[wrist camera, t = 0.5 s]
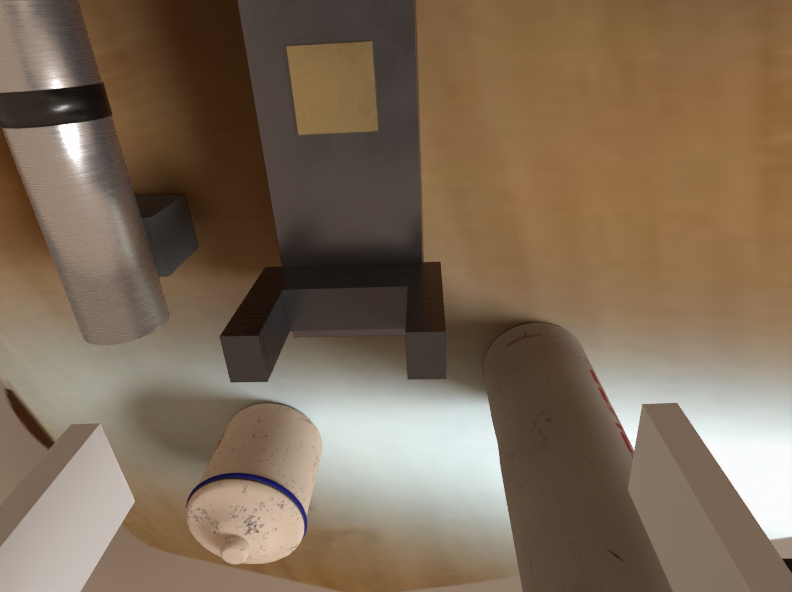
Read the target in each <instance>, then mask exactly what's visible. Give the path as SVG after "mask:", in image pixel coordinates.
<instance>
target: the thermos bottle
mask: <svg viewBox="0 0 792 592" xmlns="http://www.w3.org/2000/svg"><path fill="white" fill-rule="evenodd" d="M484 377H485V382H486V388H487V394H488V399H489V405H490V410H491V416H492V421H493V425H494V430H495V434H496V438H497V442H498V448H499V456H500V465H501V472H502V478H503V483H504V489H505V494H506V500H507V506H508V511H509V517H510V522H511V528H512V534H513V539H514V545H515V550H516V556H517V562H518V567H519V573H520V578H521V584H522V590H523V592H673V591H672V588H671V586H670V584H669V582H668V579H667V577H666V575H665V573H664V570H663V568H662V566H661V564H660V561H659V559H658V557H657V555H656V552H655V550H654V548H653V545H652V543H651V541H650V539H649V536H648V534H647V532H646V530H645V527H644V525H643V523H642V521H641V518H640V516H639V514H638V512H637V509H636V507H635V505H634V502H633V500H632V498H631V496H630V493H629V491H628V485H629V480H630V474H631V468H632V462H633V456H634V449H633V447H632V445H631V444H630V442H629V440H628V438H627V436H626V434H625V432H624V430H623V428H622V426H621V424H620V422H619V420H618V418H617V416H616V414H615V412H614V410H613V408H612V406H611V404H610V402H609V400H608V398H607V396H606V394H605V392H604V390H603V388H602V386H601V384H600V382H599V380H598V378H597V376H596V374H595V372H594V370H593V368H592V366H591V364H590V362H589V360H588V358H587V356H586V354H585V352H584V350H583V348H582V346H581V344H580V343H579V341H578V340H577V338H576V337H575V336H573V335H572V334H571V333H570V332H569V331H567V330H565V329H563V328H562V327H559V326H556V325H553V324H548V323H528V324H523V325H520V326H517V327H514V328H512V329H510V330H508V331H506V332H505V333H503V334H502V335H501V336H499V337H498V338H497V339H496V340H495V341H494V342H493V344H492V345H491V346H490V348H489V350H488V352H487V354H486V356H485V360H484Z"/></svg>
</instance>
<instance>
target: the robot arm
mask: <svg viewBox="0 0 792 592" xmlns="http://www.w3.org/2000/svg"><path fill="white" fill-rule="evenodd" d="M628 491H629V493H630V496H631V498H632V500H633V502H634V505H635V507H636V509H637V512H638V514H639V516H640V518H641V521H642V523H643V525H644V527H645V530H646V532H647V534H648V536H649V539H650V541H651V543H652V545H653V548H654V550H655V552H656V555H657V557H658V559H659V561H660V564H661V566H662V568H663V570H664V573H665V575H666V577H667V579H668V582H669V584H670V586H671V588H672V591H673V592H792V559H782V558H781V557H780V555H779V554H778V552H777V551H776V549H775V548H774V546H773V545H772V543H771V542H770V540H769V539H768V537H767V536H766V534H765V533H764V531H763V530H762V528H761V527H760V525H759V524H758V522H757V521H756V519H755V518H754V517H753V515H752V514H751V512H750V511H749V509H748V508H747V506H746V505H745V503H744V502H743V500H742V499H741V497H740V496H739V494H738V493H737V491H736V490H735V488H734V487H733V485H732V484H731V482H730V481H729V479H728V478H727V476H726V475H725V473H724V472H723V470H722V469H721V468H720V466H719V465H718V463H717V462H716V460H715V459H714V457H713V456H712V454H711V453H710V451H709V450H708V448H707V447H706V445H705V444H704V442H703V441H702V439H701V438H700V436H699V435H698V433H697V432H696V430H695V429H694V427H693V426H692V424H691V423H690V421H689V420H688V418H687V417H686V416H685V414H684V413H683V411H682V410H681V408H680V407H679V405H678V404H677V403H663V404H642V410H641V416H640V422H639V427H638V433H637V439H636V445H635V451H634V456H633V462H632V468H631V474H630V480H629V485H628ZM134 502H135V500H134V498H133V495H132V493H131V491H130V489H129V487H128V484H127V482H126V480H125V478H124V475H123V473H122V471H121V469H120V467H119V464H118V462H117V460H116V458H115V455H114V453H113V451H112V449H111V447H110V444H109V442H108V440H107V438H106V436H105V433H104V431H103V429H102V427H101V424H74V425H70V426H69V428H68V429H67V430H66V431H65V432H64V433H63V434H62V436H61V437H60V438H59V439H58V440H57V441H56V442H55V444H54V445H53V446H52V447H51V448H50V449H49V450H48V451H47V453H46V454H45V455H44V456H43V457H42V458H41V459H40V461H39V462H38V463H37V464H36V465H35V466H34V467H33V469H32V470H31V471H30V472H29V473H28V474H27V475H26V477H25V478H24V479H23V480H22V481H21V482H20V483H19V485H18V486H17V487H16V488H15V489H14V490H13V491H12V493H11V494H10V495H9V496H8V497H7V498H6V499H5V500H4V502H3V503H2V504H1V505H0V592H80V591H81V590H82V588H83V586H84V585H85V583H86V581H87V579H88V578H89V576H90V575H91V573H92V571H93V570H94V568H95V566H96V565H97V563H98V561H99V560H100V558H101V556H102V555H103V553H104V551H105V550H106V548H107V546H108V545H109V543H110V541H111V540H112V538H113V537H114V535H115V533H116V532H117V530H118V528H119V527H120V525H121V523H122V522H123V520H124V518H125V517H126V515H127V513H128V512H129V510H130V508H131V507H132V505H133V503H134Z"/></svg>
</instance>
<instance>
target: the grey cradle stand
mask: <svg viewBox="0 0 792 592" xmlns="http://www.w3.org/2000/svg"><path fill="white" fill-rule="evenodd" d="M237 1H238V7H239V12H240V18H241V24H242V30H243V36H244V42H245V48H246V54H247V60H248V66H249V72H250V78H251V84H252V90H253V96H254V102H255V108H256V113H257V119H258V125H259V131H260V137H261V143H262V149H263V155H264V161H265V167H266V173H267V179H268V185H269V191H270V197H271V203H272V208H273V214H274V220H275V226H276V232H277V238H278V244H279V250H280V256H281V262H282V267H265V268H264V270H263V271H262V273H261V274H260V276H259V277H258V279H257V280H256V282H255V283H254V285H253V286H252V288H251V289H250V291H249V292H248V294H247V296H246V297H245V299H244V300H243V302H242V303H241V305H240V306H239V308H238V309H237V311H236V312H235V314H234V315H233V317H232V318H231V320H230V321H229V323H228V324H227V326H226V328H225V329H224V331H223V332H222V334H221V335H220V340H221V345H222V349H223V353H224V357H225V361H226V365H227V369H228V373H229V377H230V381H231V382H268V380H269V377H270V375H271V373H272V371H273V368H274V366H275V364H276V361H277V359H278V357H279V355H280V352H281V350H282V348H283V345H284V343H285V341H286V339H287V336H288V334H289V332H290V331H293V333H294V337H336V336H382V335H405V337H406V356H407V375H408V379H446V328H445V315H444V302H443V289H442V277H441V264H440V262H424V252H423V219H422V187H421V155H420V122H419V90H418V58H417V25H416V0H237Z"/></svg>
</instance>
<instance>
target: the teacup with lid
mask: <svg viewBox="0 0 792 592" xmlns="http://www.w3.org/2000/svg"><path fill="white" fill-rule="evenodd" d="M321 452H322V440H321V436H320V434H319V432H318V430H317V428H316V426H315V425H314V424H313V423H312V422H311V420H309V419H308V418H307V417H306V416H305V415H303V414H302V413H300V412H299V411H297V410H295V409H293V408H290V407H287V406H284V405H280V404H272V403H264V404H256V405H252V406H249V407H247V408H244V409H243V410H241V411H239V412H238V413H237V414H236V415H234V417H233V418H232V419H231V420H230V422H229V424H228V426H227V428H226V430H225V432H224V434H223V436H222V438H221V440H220V442H219V444H218V446H217V448H216V450H215V452H214V454H213V456H212V458H211V460H210V462H209V464H208V466H207V468H206V471H205V473H204V475H203V477H202V479H201V481H200V483H199V485H197V486H196V487H195V488H194V489H193V491H192V492H191V494H190V496H189V498H188V501H187V505H186V519H187V524H188V527H189V529H190V531H191V533H192V535H193V536H194V537H195V539H196V540H197V541H198V542H199V543H200V544H201V545H202V546H204V547H205V548H206V549H208V550H209V551H211V552H212V553H214V554H216V555H218V556H220V557H222V558H223V559H224V560H225V561H226V562H228V563H231V564H240V563H247V564H261V563H268V562H273V561H276V560H279V559H281V558H283V557H285V556H287V555H289V554H290V553H291V552H292V551H293V550H294V549H296V547H297V546H298V545H299V544H300V542H301V541H302V539H303V538H304V536H305V533H306V530H307V512H308V507H309V503H310V499H311V495H312V491H313V486H314V482H315V478H316V474H317V470H318V465H319V461H320V457H321Z"/></svg>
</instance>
